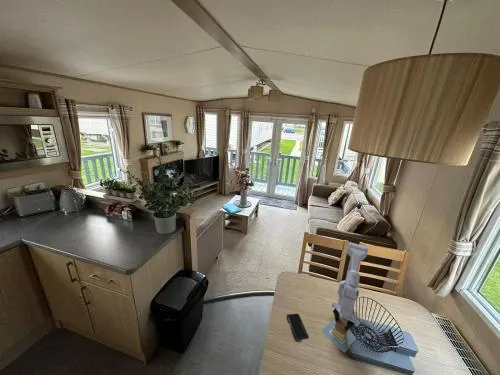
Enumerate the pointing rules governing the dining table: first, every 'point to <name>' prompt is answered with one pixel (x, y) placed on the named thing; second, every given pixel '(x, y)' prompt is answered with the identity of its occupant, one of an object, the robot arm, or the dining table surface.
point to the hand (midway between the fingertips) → (341, 325)
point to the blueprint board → (332, 337)
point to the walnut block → (341, 325)
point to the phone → (297, 327)
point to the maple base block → (339, 334)
